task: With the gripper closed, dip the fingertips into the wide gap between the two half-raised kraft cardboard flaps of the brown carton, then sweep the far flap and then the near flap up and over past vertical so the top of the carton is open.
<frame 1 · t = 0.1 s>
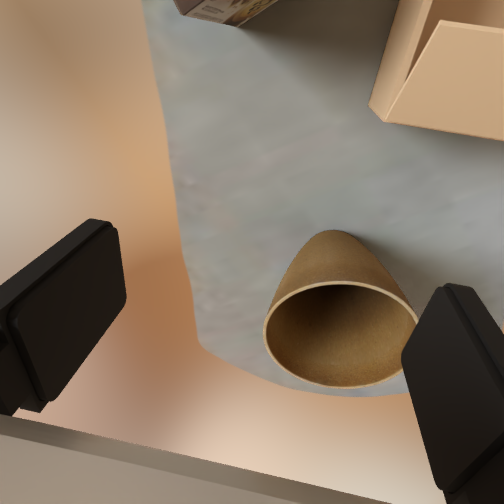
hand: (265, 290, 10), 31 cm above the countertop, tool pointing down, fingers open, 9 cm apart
plant pot: (330, 253, 45), on the countertop
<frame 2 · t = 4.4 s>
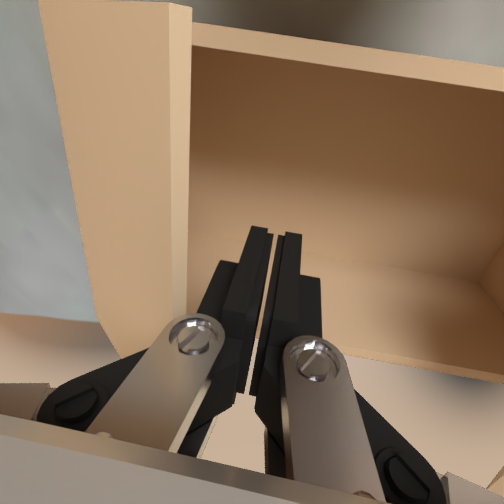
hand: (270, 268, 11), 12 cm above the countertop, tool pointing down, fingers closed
carton: (340, 173, 21), on the countertop
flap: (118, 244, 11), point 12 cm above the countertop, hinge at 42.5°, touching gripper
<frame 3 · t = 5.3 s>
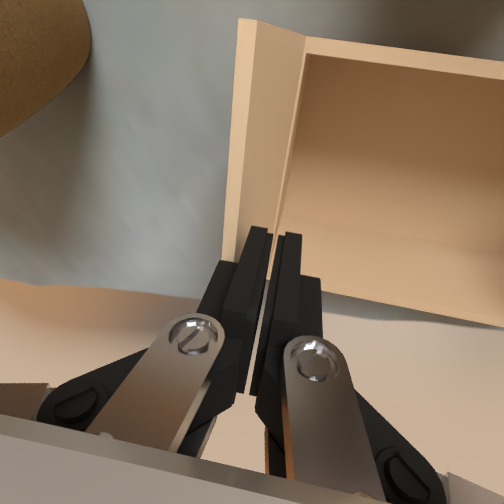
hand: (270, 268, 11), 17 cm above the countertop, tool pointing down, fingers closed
plant pot: (42, 21, 23), on the countertop
carton: (450, 166, 23), on the countertop
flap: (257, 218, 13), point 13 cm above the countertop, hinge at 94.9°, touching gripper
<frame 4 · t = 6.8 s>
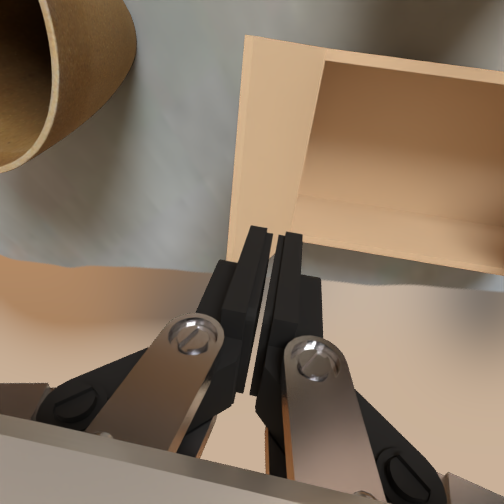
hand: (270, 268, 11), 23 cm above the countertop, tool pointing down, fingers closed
plant pot: (94, 32, 28), on the countertop
carton: (430, 150, 29), on the countertop
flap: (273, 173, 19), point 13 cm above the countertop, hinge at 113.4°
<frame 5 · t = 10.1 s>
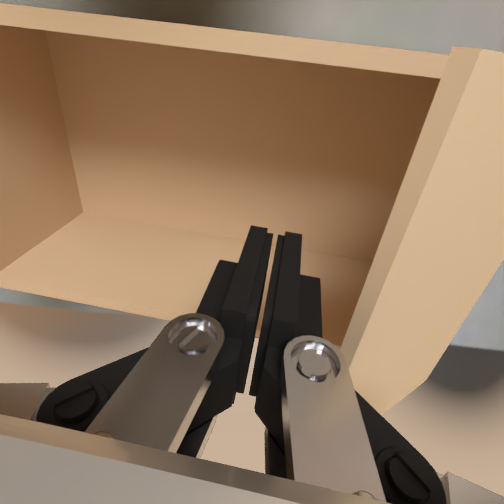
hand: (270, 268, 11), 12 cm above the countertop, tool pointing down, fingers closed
carton: (236, 154, 21), on the countertop
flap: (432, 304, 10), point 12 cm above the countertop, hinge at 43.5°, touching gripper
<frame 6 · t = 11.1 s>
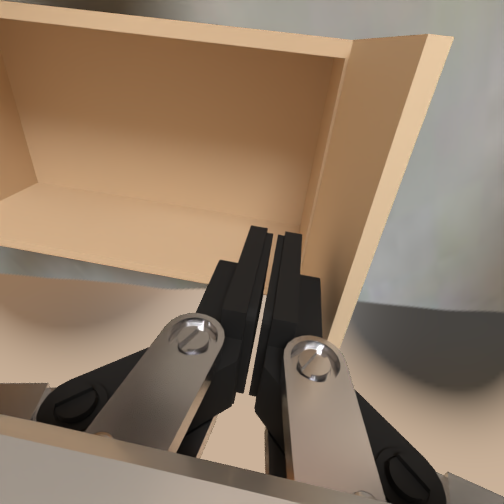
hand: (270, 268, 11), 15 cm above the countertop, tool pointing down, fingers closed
carton: (163, 128, 24), on the countertop
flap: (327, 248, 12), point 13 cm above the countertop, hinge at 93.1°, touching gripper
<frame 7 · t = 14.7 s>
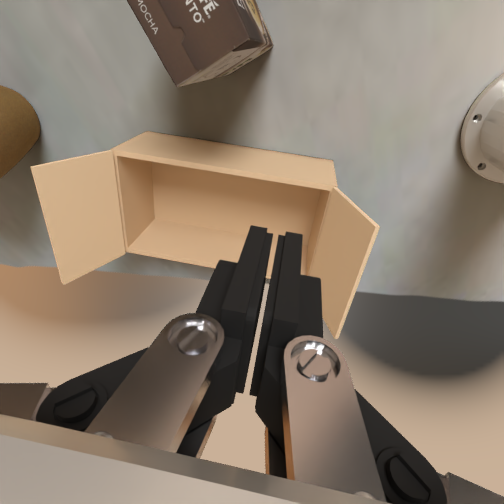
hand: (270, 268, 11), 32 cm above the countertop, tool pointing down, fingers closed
plant pot: (14, 117, 44), on the countertop
carton: (233, 193, 44), on the countertop
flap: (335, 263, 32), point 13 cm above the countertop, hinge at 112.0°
coffee box: (230, 17, 34), on the countertop
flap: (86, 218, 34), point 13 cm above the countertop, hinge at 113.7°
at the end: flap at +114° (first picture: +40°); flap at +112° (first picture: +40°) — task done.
